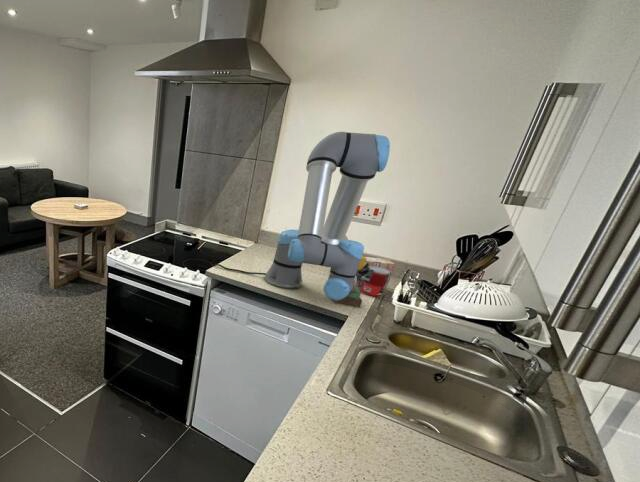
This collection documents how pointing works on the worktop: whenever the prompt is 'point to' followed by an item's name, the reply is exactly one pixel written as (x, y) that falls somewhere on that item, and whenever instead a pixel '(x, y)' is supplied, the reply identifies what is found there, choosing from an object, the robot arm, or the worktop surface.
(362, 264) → the bar
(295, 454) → the worktop surface
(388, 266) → the stack of blocks
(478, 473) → the worktop surface
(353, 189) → the robot arm
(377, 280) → the canned food
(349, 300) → the green brown stepped block
